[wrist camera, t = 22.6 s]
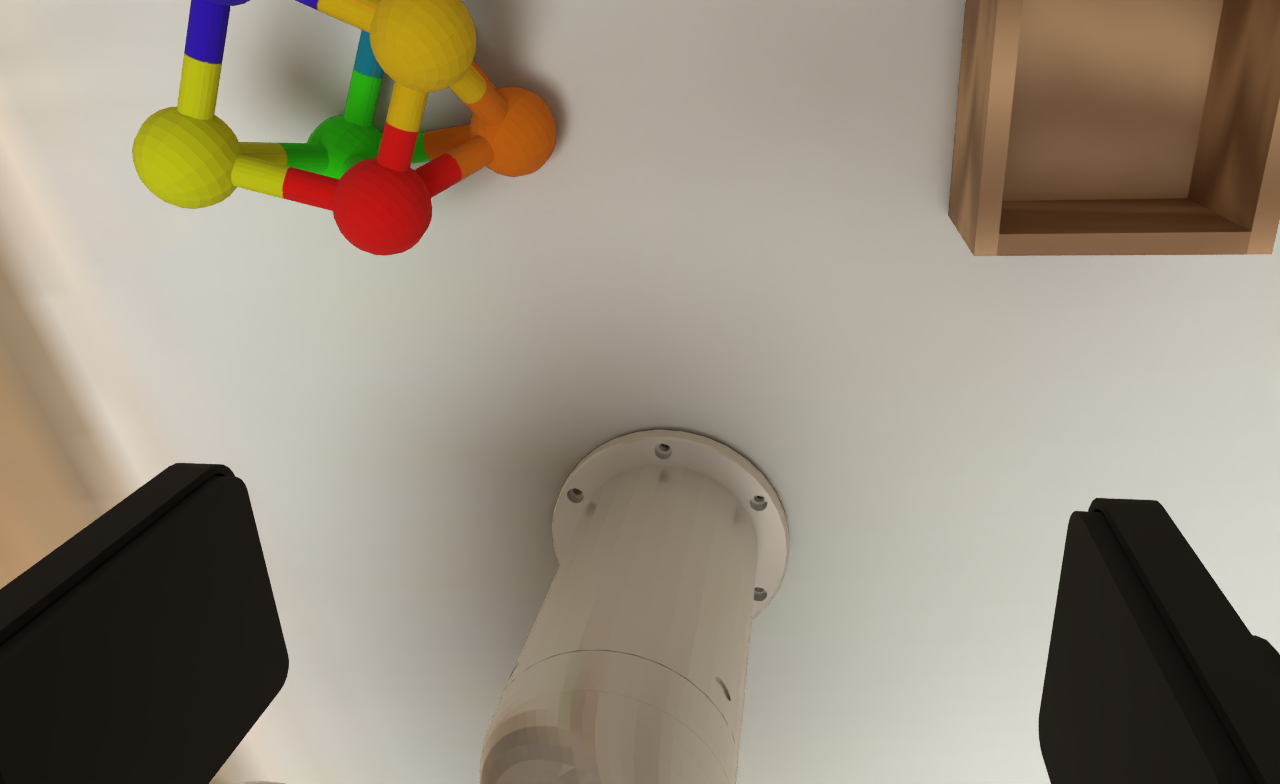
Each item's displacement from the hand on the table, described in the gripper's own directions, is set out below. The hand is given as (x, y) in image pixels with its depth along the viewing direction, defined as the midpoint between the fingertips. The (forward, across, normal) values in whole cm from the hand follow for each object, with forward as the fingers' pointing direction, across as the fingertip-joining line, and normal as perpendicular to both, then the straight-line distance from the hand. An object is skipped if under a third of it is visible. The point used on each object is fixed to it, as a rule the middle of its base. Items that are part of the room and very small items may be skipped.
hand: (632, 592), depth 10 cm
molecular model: (+34, +16, -4) cm, 37 cm away
